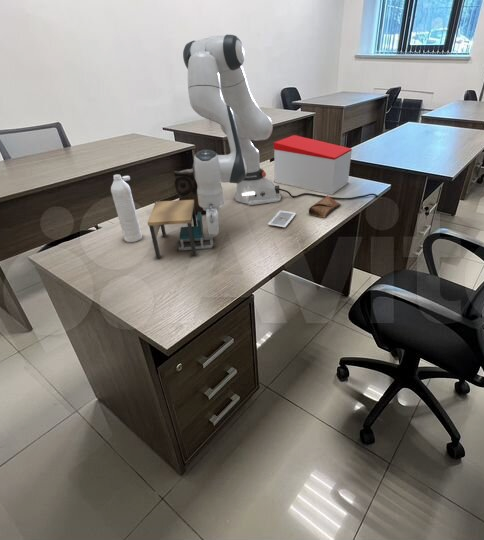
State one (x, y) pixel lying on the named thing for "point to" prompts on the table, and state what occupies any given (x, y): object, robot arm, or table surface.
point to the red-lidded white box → (311, 164)
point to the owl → (187, 188)
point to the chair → (195, 235)
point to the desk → (172, 219)
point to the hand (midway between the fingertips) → (214, 234)
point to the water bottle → (125, 208)
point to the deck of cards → (282, 218)
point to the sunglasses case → (323, 207)
